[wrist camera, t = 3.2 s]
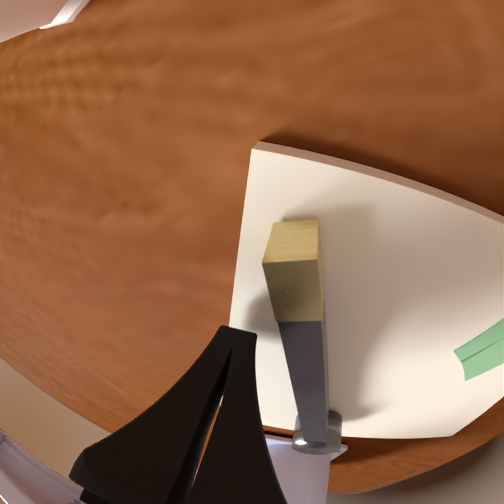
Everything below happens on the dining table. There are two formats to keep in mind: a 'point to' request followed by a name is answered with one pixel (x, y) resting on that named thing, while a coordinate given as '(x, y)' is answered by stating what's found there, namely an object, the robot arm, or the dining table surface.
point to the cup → (35, 15)
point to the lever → (303, 330)
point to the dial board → (379, 295)
